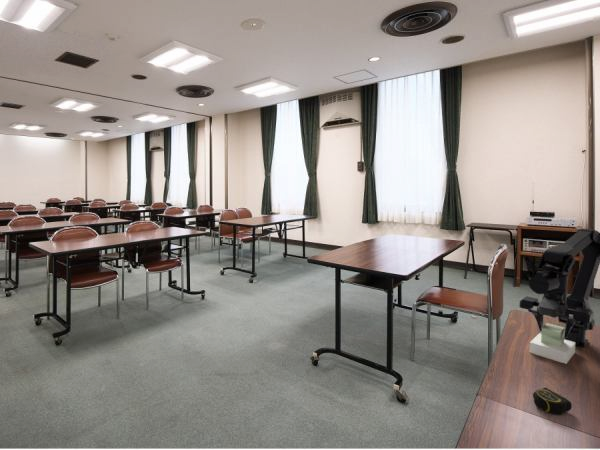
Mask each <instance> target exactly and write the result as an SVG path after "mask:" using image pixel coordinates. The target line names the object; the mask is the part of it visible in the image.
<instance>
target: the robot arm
mask: <svg viewBox="0 0 600 450" xmlns="http://www.w3.org/2000/svg"><path fill="white" fill-rule="evenodd" d="M579 253H582V256H583V257H582V260H581V263H580V265H579V268H578V269H579V270H578V271H577V275H576V277H575V281H574V285H573V286H572V290H571V293H570V295H568V292H569V291H568V284H569V283H568V281H569V274H571V273H572V271H571V270H572V267H573V266H574V264H575V263H576V258H575V257H576V256H577V255H578V254H579ZM599 267H600V231H598V230H596V229H591V228H578V229H577V231H576V232H575V233H574V234H573V235H572V236H570V237H569V238H568V239H567V240H566V241H565V242H563V243H562V244H560V245H554V246H553V245H552V246H551V247H548V248H547V249H545V250H544V252H543V253H542V254H541V256H540V259H539V262H538V265H537V266H536V270H537V271H536V274H535V275H534V276H532V277H531V278H530V279H529V280H528V285H529V288H530V289H531V291H532V292H533V293H535V294H537V295H543V296H542V297H541V300H540V301H539V298H536V297H532V296H527V295H526V296H524V298H522V299H521V300H519V308H520V309H524V310H527V312H529V313H531V314H532V315H533V317H534V318H535V320H536V323H537V326H538V329H539V331H540V332H542V327H543V326H544V316H548V317H551V318H558V322H559V323H563V324H565V325H564V328H565V334H564V339H565V340H568V341H572V342H575V346H577V347H582V348H585V347H586V345H587V344H588V343H589V339H586V338H587V337H586V336H587V331H593V330H594V327H595V322H596V321H595V319H594V313H595V312H594V311H593V310H592V308H591V306H590V304H589V297H590V295H591V291H592V288H593V285H594V283H595V279H596V277H597V273H598V269H599Z"/></svg>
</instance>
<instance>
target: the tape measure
mask: <svg viewBox="0 0 600 450" xmlns="http://www.w3.org/2000/svg"><path fill="white" fill-rule="evenodd" d="M532 397H533V402H534V405H535V406H536V407H537V408H538V409H539V410H542V411H543V412H546V413H547V414H549V415H554V416H555V415H557V416H558V415H559V416H560V415H563V414H565V413H566V412H569V411H571V410H572V407H573V406H572V405H573V404H572V402H571V401H570V400H569V399H567V398H566V397H564V396H562V395H560V394H558V393H556V392H555V391H553V390H551V389H549V388H548V387H542V388H539V389H536V390H535V392H533V394H532Z"/></svg>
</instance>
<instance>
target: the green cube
mask: <svg viewBox="0 0 600 450" xmlns="http://www.w3.org/2000/svg"><path fill="white" fill-rule="evenodd" d="M540 333H541V342H543V343H546V344H549V345H553V346H556V347H560V346H561V345H562V344H563V343H564V335H565V326H564V327H563V326H561V325H560V326H559V325H556V324H552V323H549V322H547V323H545V324H543V327H542V331H541V332H540Z"/></svg>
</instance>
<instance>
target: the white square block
mask: <svg viewBox="0 0 600 450" xmlns="http://www.w3.org/2000/svg"><path fill="white" fill-rule="evenodd" d="M541 333H542V332H539V333H538V334H537V335H536V336H535V337H533V339H532V340H530V342H529V353H530V354H533V355H536V356H539V357H543V358H546V359H549V360H552V361H555V362H558V363H562V364H566V365H567V364H568V363H569V361H570V360H571V358H572V357H573V356H574V354H575V353H576V345H575V342H572V341H568V340H565V339H564V343H563V344H562V345H561V346H560V347H556V346H553V345H549V344H546V343H543V342H541Z"/></svg>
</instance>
